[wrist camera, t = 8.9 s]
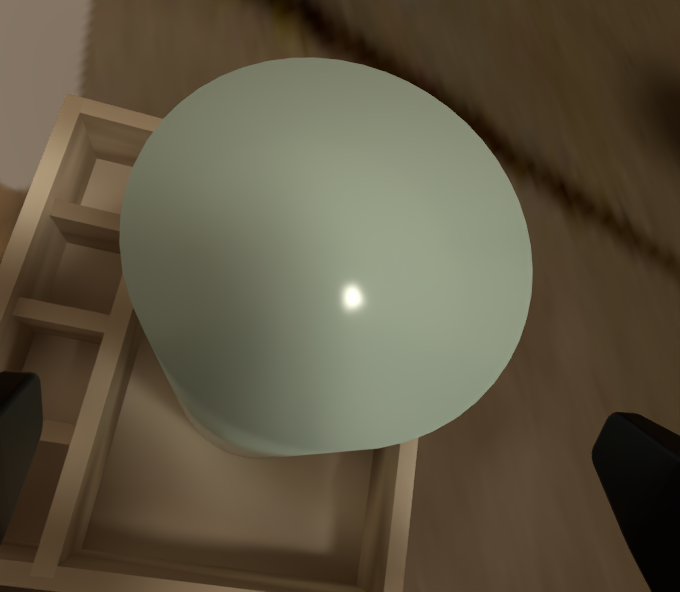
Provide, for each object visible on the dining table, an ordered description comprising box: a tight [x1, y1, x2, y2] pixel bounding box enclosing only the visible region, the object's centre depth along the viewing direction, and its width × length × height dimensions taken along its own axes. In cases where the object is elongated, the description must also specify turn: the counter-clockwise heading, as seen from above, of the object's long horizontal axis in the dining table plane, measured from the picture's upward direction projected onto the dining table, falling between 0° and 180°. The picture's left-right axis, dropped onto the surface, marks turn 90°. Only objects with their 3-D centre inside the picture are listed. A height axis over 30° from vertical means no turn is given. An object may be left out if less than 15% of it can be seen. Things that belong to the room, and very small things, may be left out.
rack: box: [0, 94, 418, 592], centre depth 19 cm, size 15×14×4 cm
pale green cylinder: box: [119, 58, 533, 459], centre depth 14 cm, size 6×6×13 cm
